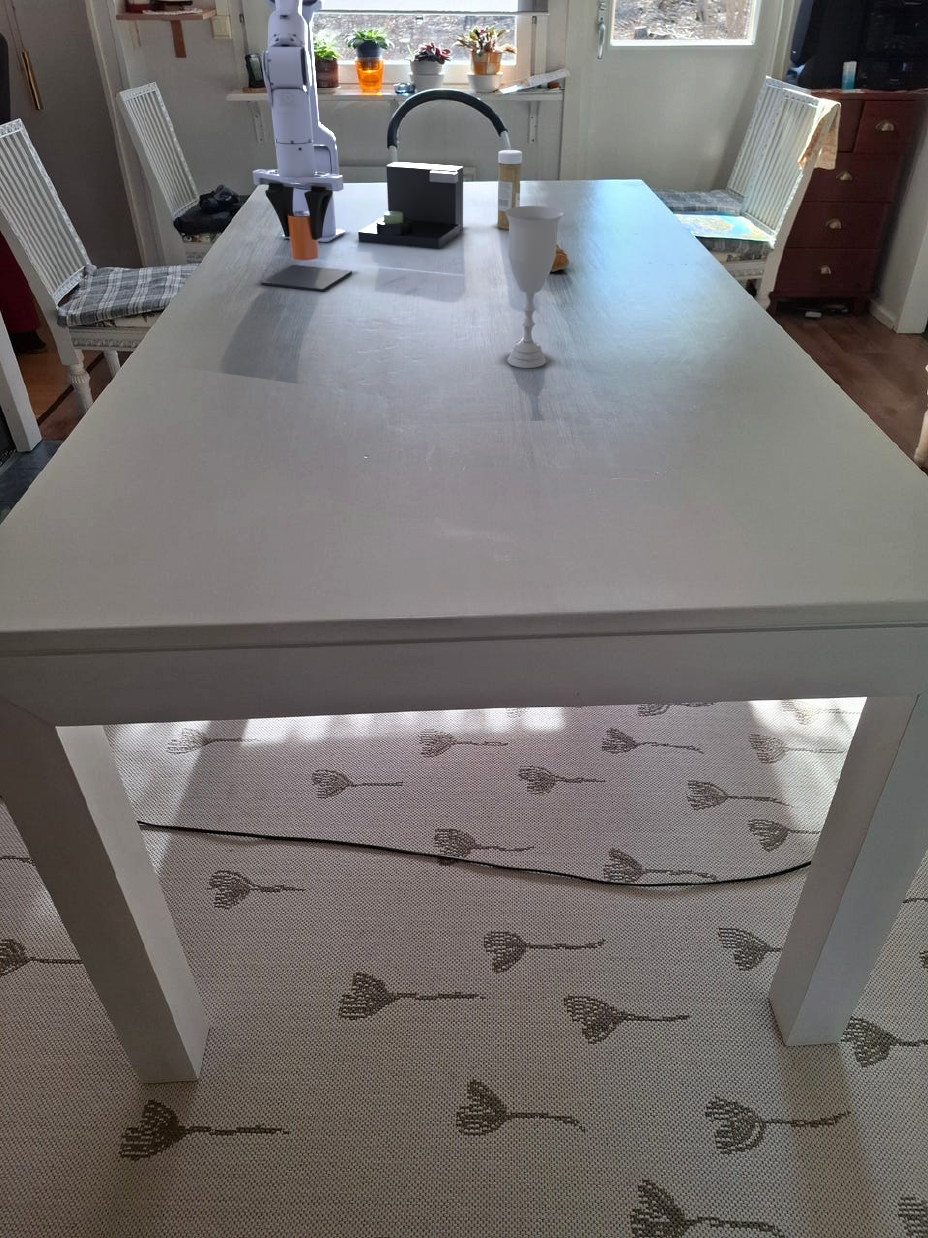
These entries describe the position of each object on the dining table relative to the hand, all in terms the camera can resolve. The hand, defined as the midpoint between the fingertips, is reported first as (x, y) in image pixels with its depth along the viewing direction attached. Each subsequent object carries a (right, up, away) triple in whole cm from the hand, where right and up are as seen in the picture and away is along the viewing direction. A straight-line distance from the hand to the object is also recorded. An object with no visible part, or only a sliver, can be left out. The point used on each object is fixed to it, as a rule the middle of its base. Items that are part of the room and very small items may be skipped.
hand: (303, 236), depth 139 cm
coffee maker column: (+18, +15, +32) cm, 40 cm away
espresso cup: (0, -2, +2) cm, 3 cm away
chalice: (+34, -28, -25) cm, 51 cm away
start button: (+13, +12, +22) cm, 28 cm away
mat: (0, -5, +4) cm, 6 cm away
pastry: (+40, 0, +11) cm, 41 cm away
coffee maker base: (+16, +11, +26) cm, 32 cm away
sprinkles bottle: (+35, +17, +34) cm, 51 cm away
